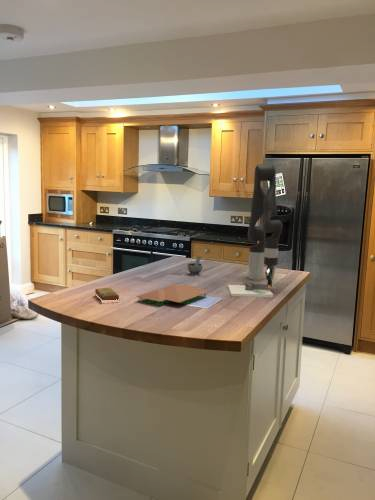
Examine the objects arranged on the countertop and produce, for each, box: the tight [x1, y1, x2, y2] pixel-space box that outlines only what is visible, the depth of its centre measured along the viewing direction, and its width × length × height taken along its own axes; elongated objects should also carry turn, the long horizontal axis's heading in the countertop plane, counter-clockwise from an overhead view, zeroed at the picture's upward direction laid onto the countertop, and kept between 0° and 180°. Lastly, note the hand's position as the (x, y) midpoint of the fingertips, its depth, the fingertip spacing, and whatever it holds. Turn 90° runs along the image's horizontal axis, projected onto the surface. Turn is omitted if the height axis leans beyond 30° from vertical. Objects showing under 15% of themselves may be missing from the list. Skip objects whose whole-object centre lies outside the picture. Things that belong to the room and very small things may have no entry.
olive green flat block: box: [94, 287, 120, 300], centre depth 215 cm, size 8×16×4 cm, turn 25°
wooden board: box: [136, 283, 208, 306], centre depth 217 cm, size 23×33×8 cm
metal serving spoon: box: [244, 282, 271, 290], centre depth 235 cm, size 14×5×3 cm, turn 90°
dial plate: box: [227, 284, 274, 298], centre depth 235 cm, size 20×22×2 cm
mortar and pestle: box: [186, 255, 203, 276], centre depth 276 cm, size 11×9×12 cm
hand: (269, 286), depth 238 cm, fingers closed
